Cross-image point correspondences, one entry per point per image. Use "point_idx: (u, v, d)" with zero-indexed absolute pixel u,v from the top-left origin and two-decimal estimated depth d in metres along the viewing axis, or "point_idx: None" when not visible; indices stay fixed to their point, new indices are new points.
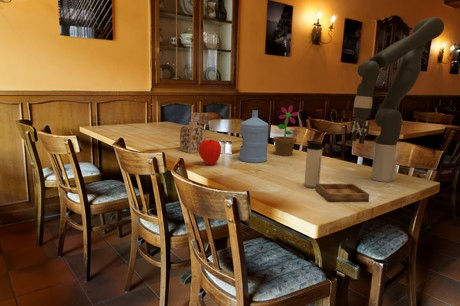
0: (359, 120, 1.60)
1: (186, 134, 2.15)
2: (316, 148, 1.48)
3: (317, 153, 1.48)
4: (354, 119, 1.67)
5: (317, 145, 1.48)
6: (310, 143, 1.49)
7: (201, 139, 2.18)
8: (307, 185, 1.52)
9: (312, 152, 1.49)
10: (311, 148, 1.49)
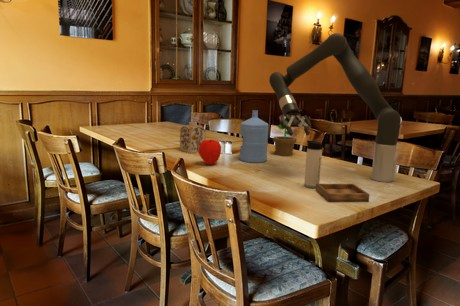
0: None
1: (186, 134, 2.15)
2: (316, 148, 1.48)
3: (317, 153, 1.48)
4: None
5: (317, 145, 1.48)
6: (310, 143, 1.49)
7: (201, 139, 2.18)
8: (307, 185, 1.52)
9: (312, 152, 1.49)
10: (311, 148, 1.49)
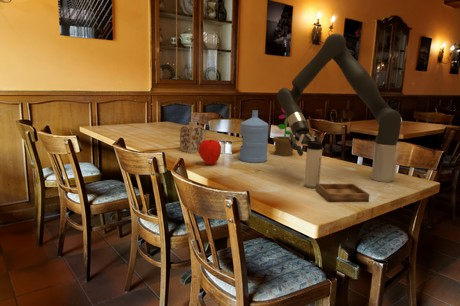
0: None
1: (186, 134, 2.15)
2: (316, 148, 1.48)
3: (317, 153, 1.48)
4: None
5: (317, 145, 1.48)
6: (310, 143, 1.49)
7: (201, 139, 2.18)
8: (307, 185, 1.52)
9: (312, 152, 1.49)
10: (311, 148, 1.49)
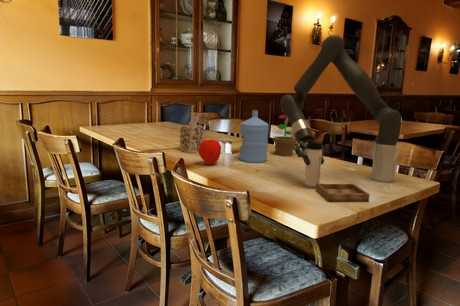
0: None
1: (186, 134, 2.15)
2: (316, 148, 1.48)
3: (317, 153, 1.48)
4: None
5: (317, 145, 1.48)
6: (310, 143, 1.49)
7: (201, 139, 2.18)
8: (307, 185, 1.52)
9: (312, 152, 1.49)
10: (310, 148, 1.49)
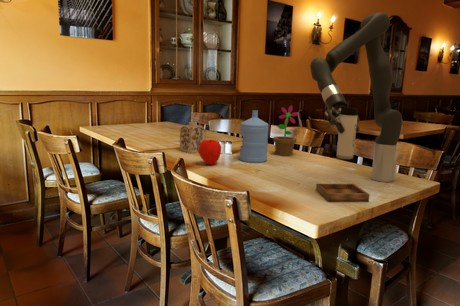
0: None
1: (186, 134, 2.15)
2: (351, 114, 1.33)
3: (352, 119, 1.33)
4: None
5: (352, 110, 1.33)
6: (344, 108, 1.34)
7: (201, 139, 2.18)
8: (340, 156, 1.37)
9: (347, 118, 1.34)
10: (345, 114, 1.34)
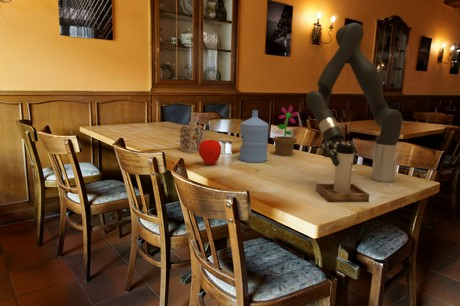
0: None
1: (186, 134, 2.15)
2: (348, 152, 1.36)
3: (349, 157, 1.36)
4: None
5: (349, 149, 1.36)
6: (341, 147, 1.37)
7: (201, 139, 2.18)
8: (337, 192, 1.40)
9: (343, 156, 1.37)
10: (342, 152, 1.37)
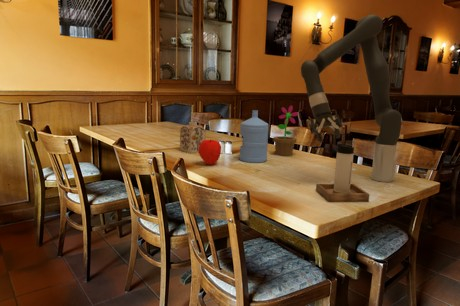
0: None
1: (186, 134, 2.15)
2: (347, 152, 1.36)
3: (349, 157, 1.36)
4: (334, 116, 1.58)
5: (349, 149, 1.36)
6: (341, 147, 1.37)
7: (201, 139, 2.18)
8: (337, 192, 1.40)
9: (343, 156, 1.37)
10: (341, 152, 1.37)
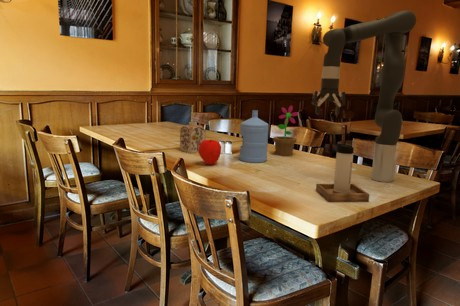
0: None
1: (186, 134, 2.15)
2: (347, 152, 1.36)
3: (348, 157, 1.37)
4: None
5: (348, 149, 1.36)
6: (341, 147, 1.37)
7: (201, 139, 2.18)
8: (337, 192, 1.40)
9: (343, 156, 1.37)
10: (341, 152, 1.37)
